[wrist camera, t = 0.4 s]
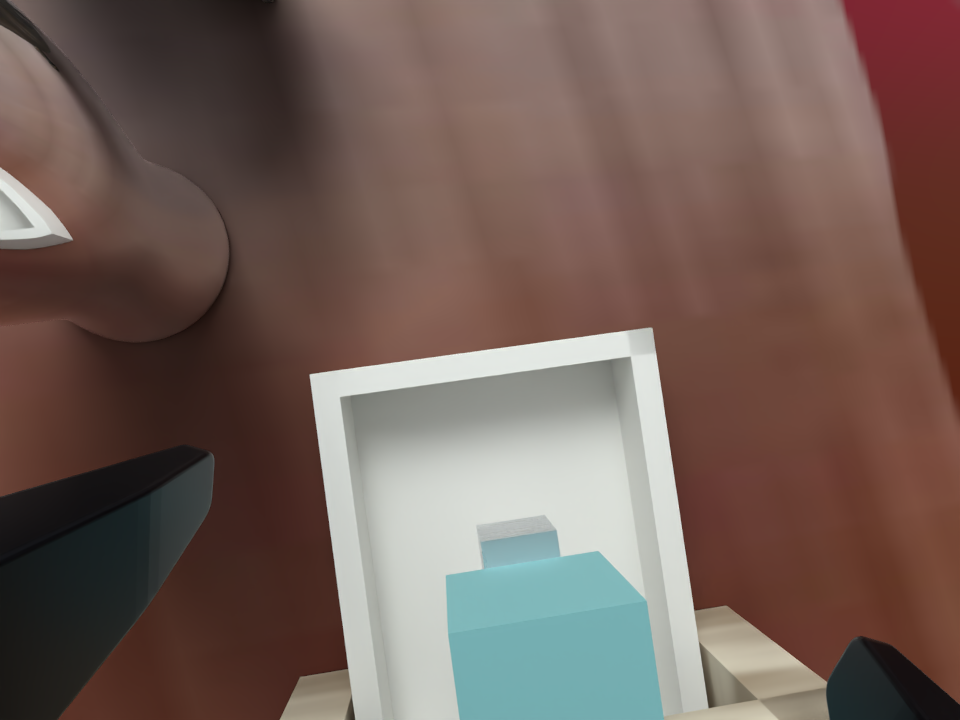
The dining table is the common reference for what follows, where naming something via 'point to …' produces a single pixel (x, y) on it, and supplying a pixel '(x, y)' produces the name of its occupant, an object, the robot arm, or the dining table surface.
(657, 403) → the tray
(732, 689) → the guide frame
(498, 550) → the grey l-shaped block
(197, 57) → the dining table surface
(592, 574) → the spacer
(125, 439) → the dining table surface
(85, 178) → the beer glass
